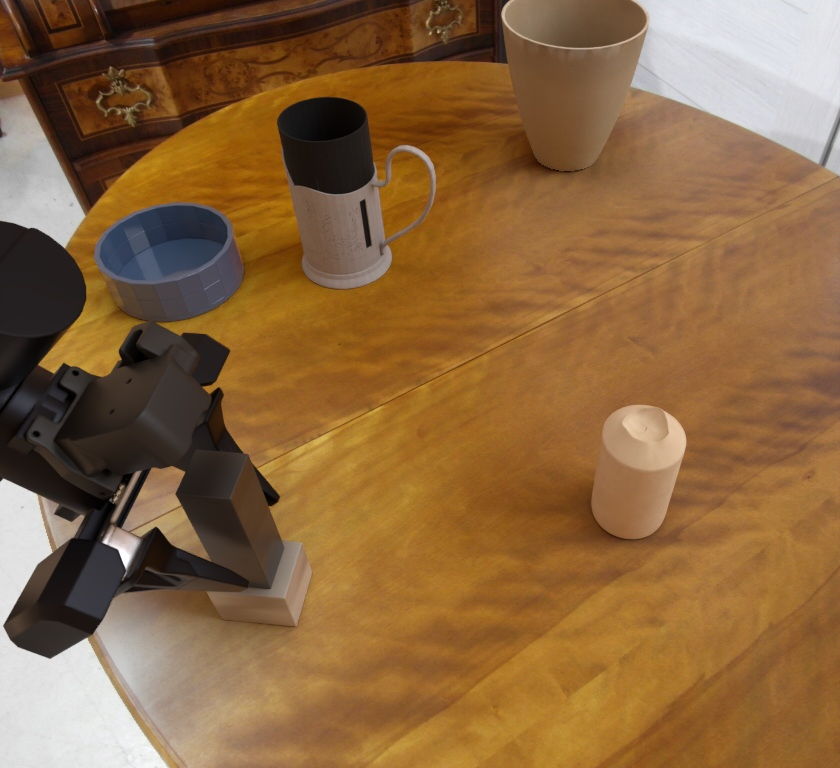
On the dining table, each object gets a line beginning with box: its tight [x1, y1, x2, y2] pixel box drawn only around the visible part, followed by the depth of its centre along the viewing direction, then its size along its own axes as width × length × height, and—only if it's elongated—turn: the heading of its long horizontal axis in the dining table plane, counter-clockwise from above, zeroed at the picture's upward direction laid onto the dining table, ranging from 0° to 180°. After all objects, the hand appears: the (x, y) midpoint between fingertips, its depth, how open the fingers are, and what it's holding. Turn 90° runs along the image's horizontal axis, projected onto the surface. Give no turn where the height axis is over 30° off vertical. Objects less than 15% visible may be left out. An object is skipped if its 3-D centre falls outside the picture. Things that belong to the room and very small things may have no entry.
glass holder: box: [276, 96, 437, 290], centre depth 70 cm, size 9×14×15 cm, turn 73°
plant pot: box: [500, 0, 651, 172], centre depth 84 cm, size 15×15×16 cm
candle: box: [590, 404, 687, 540], centre depth 53 cm, size 6×6×10 cm
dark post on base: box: [174, 450, 313, 627], centre depth 47 cm, size 5×4×14 cm
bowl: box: [93, 201, 245, 323], centre depth 72 cm, size 12×12×4 cm
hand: (261, 542), depth 47 cm, fingers open, 5 cm apart
